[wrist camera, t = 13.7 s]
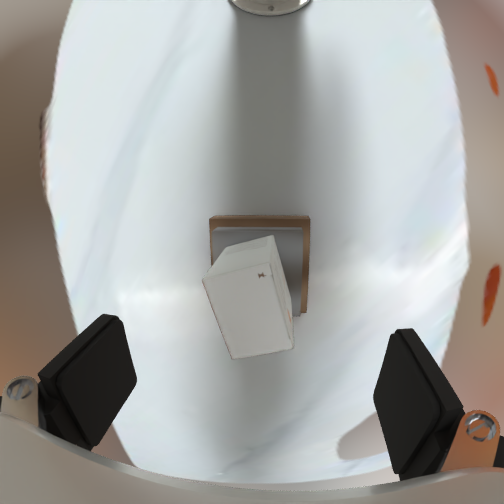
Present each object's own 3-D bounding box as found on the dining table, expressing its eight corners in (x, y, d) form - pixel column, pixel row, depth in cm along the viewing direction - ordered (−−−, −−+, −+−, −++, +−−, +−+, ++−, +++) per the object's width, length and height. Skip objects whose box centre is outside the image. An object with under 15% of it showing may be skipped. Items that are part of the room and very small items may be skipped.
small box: (225, 246, 32) (199, 277, 22) (274, 233, 31) (270, 260, 21) (245, 310, 34) (230, 362, 24) (292, 300, 33) (294, 350, 23)
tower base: (214, 215, 38) (202, 222, 32) (308, 215, 36) (312, 222, 31) (218, 301, 41) (208, 320, 35) (304, 303, 39) (307, 323, 33)
